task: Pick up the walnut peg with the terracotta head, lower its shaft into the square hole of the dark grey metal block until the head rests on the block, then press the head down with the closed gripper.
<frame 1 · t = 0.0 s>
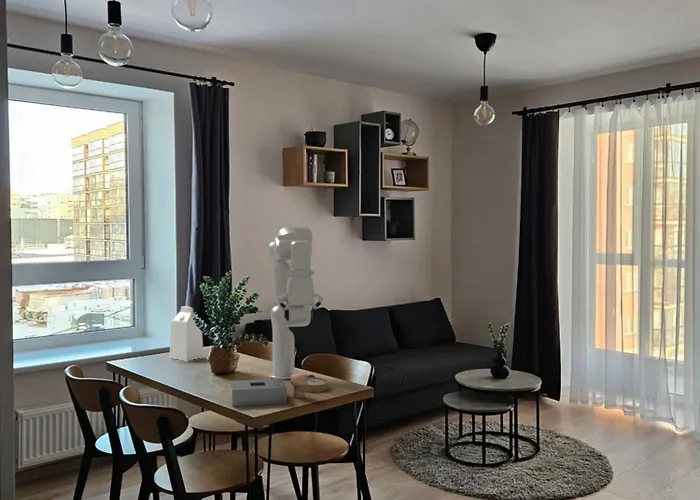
hand: (300, 320, 241), 31 cm above the table, tool pointing down, fingers open, 9 cm apart
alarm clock: (310, 389, 265), on the table
milk: (186, 358, 325), on the table
peg: (299, 397, 250), on the table
hitch block: (257, 399, 246), on the table
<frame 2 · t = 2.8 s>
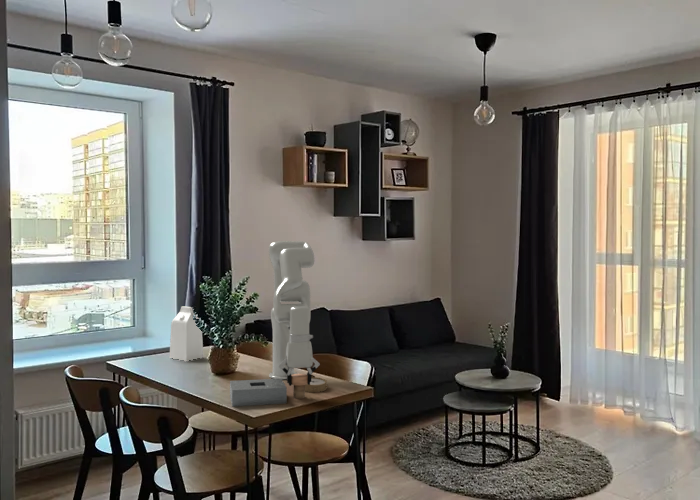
hand: (299, 384, 250), 5 cm above the table, tool pointing down, fingers closed on peg, 6 cm apart
peg: (299, 397, 250), on the table, touching gripper
everything else where it was.
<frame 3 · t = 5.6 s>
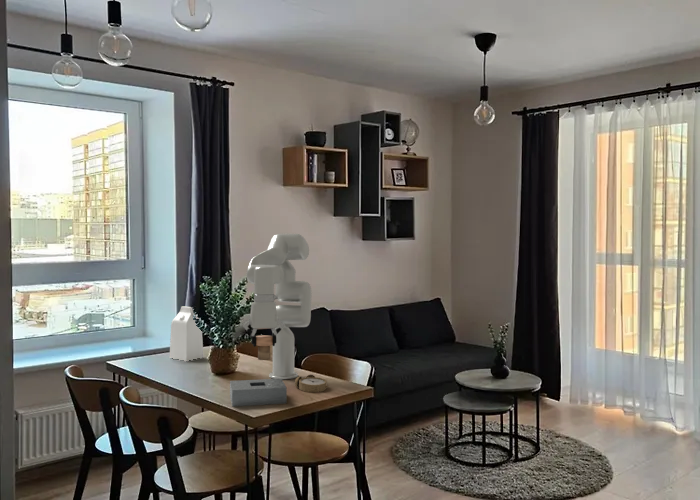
hand: (263, 345, 246), 21 cm above the table, tool pointing down, fingers closed on peg, 6 cm apart
peg: (263, 359, 246), point 16 cm above the table, touching gripper
everything else where it was.
when the fingers open (7 cm above the table, at t = 8.5 s): peg drops 1 cm, resting on hitch block.
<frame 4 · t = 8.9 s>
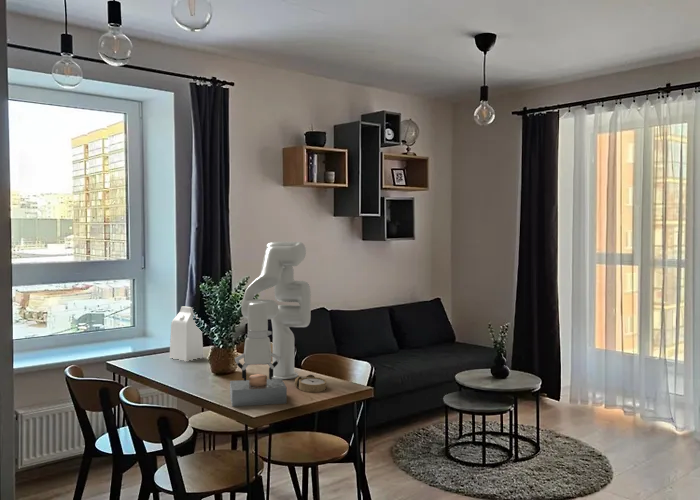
hand: (257, 379, 246), 8 cm above the table, tool pointing down, fingers open, 9 cm apart
peg: (257, 398, 246), resting on hitch block
everything else where it was.
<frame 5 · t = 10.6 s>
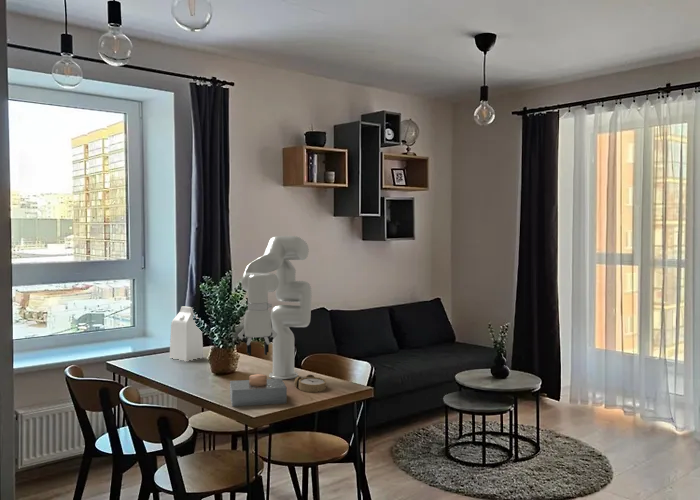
hand: (257, 354, 246), 17 cm above the table, tool pointing down, fingers open, 5 cm apart
nothing on the table moved.
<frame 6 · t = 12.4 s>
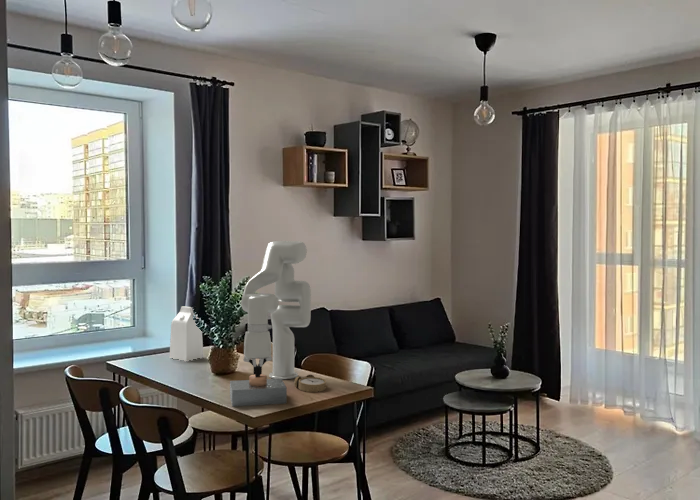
hand: (257, 376, 246), 9 cm above the table, tool pointing down, fingers closed
peg: (257, 398, 246), resting on hitch block, touching gripper
everything else where it was.
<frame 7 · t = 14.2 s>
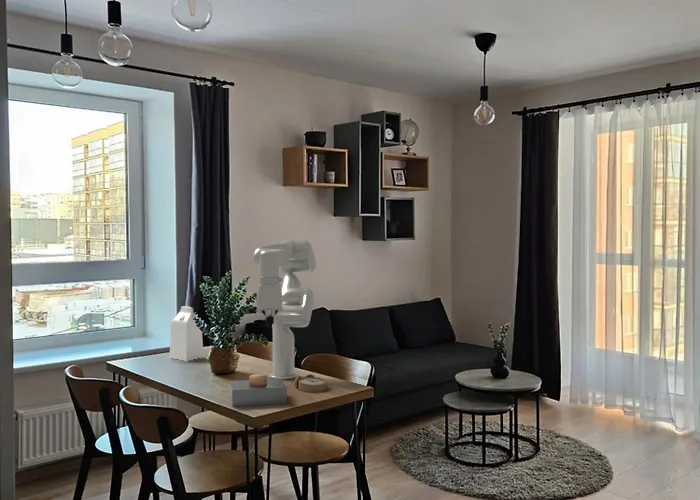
hand: (269, 325, 262), 26 cm above the table, tool pointing down, fingers closed
peg: (257, 398, 246), resting on hitch block
everything else where it was.
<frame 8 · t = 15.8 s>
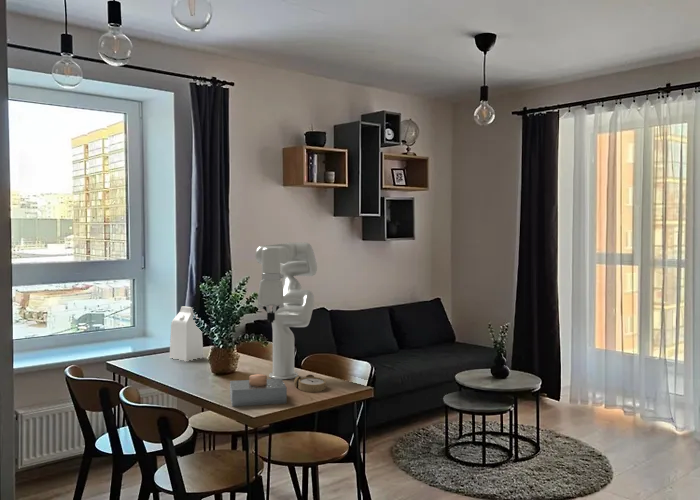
hand: (270, 322, 263), 27 cm above the table, tool pointing down, fingers closed
nothing on the table moved.
at the end: peg 0.1 cm off-centre on the hitch block, point 0.5 cm above the hitch block's base; peg tilted 0°; the gripper is holding nothing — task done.
